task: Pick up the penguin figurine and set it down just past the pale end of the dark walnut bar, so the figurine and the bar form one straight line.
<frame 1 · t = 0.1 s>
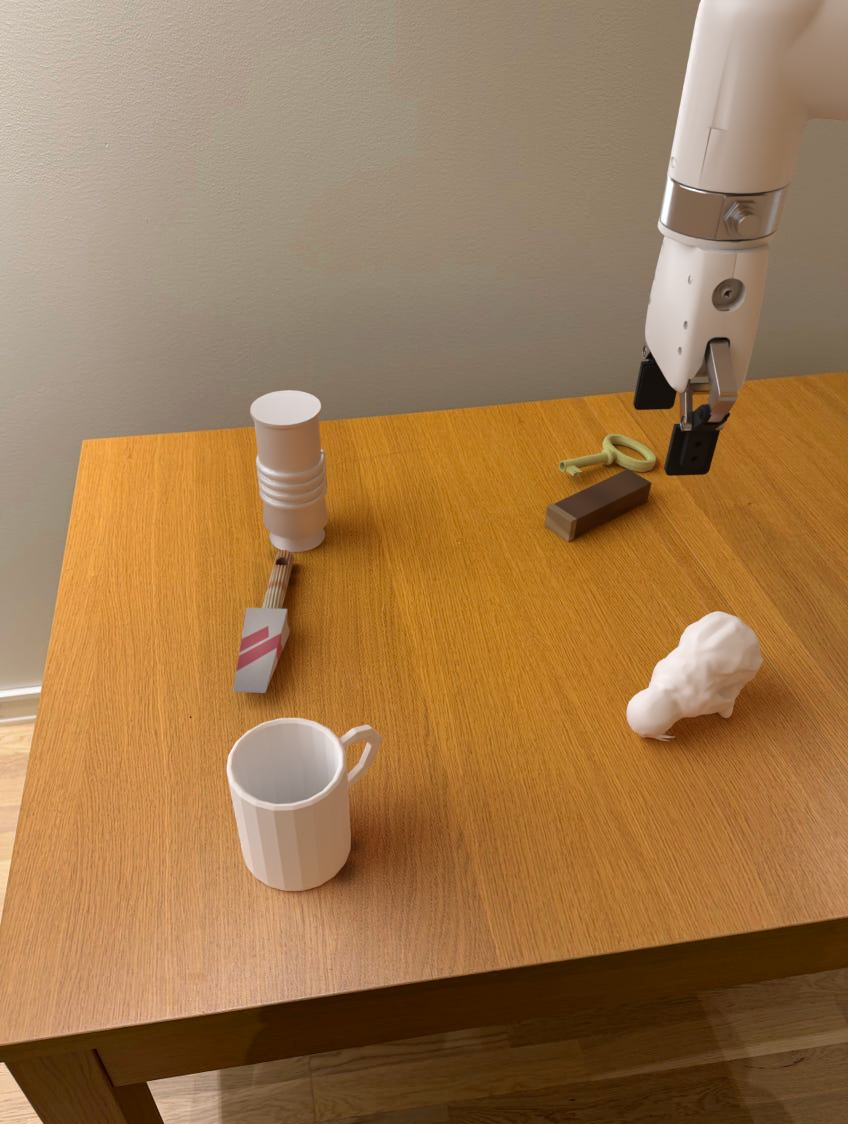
hand: (668, 438, 71), 20 cm above the table, tool pointing down, fingers open, 9 cm apart
white ribbed cylinder: (297, 536, 98), on the table
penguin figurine: (676, 715, 78), on the table
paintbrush: (270, 630, 87), on the table
walnut bar: (597, 513, 99), on the table
key: (606, 466, 107), on the table
mug: (318, 833, 70), on the table
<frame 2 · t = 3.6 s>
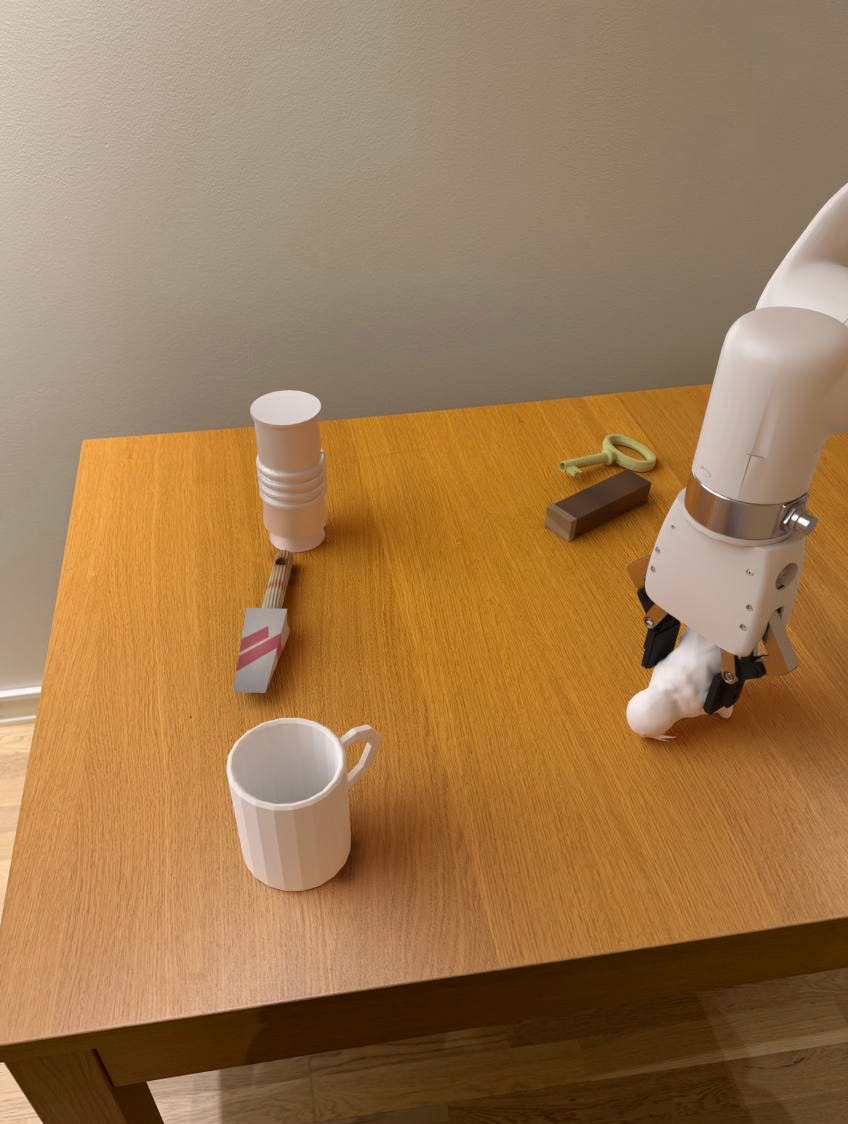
hand: (686, 681, 75), 4 cm above the table, tool pointing down, fingers closed on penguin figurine, 5 cm apart
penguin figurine: (676, 715, 78), on the table, touching gripper
everything else where it was.
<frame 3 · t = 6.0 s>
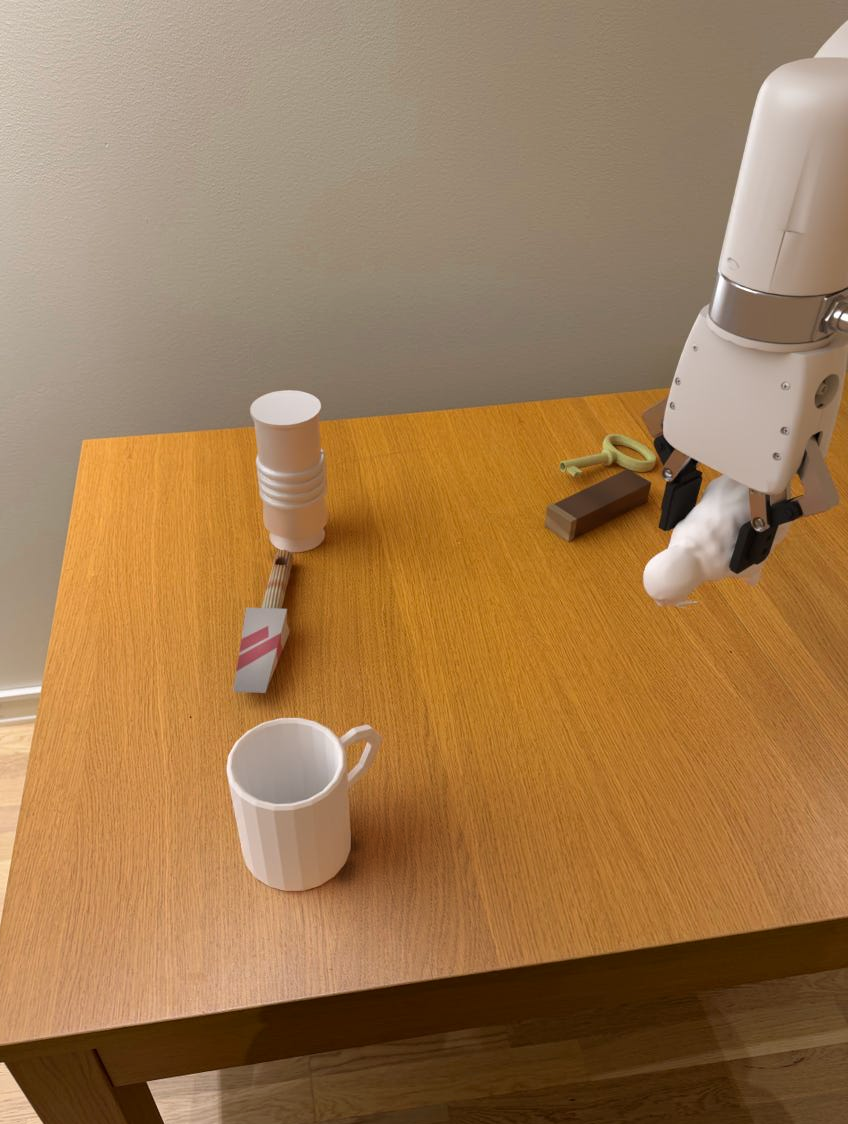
hand: (709, 541, 67), 17 cm above the table, tool pointing down, fingers closed on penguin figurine, 5 cm apart
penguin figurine: (697, 585, 70), point 13 cm above the table, touching gripper
everything else where it was.
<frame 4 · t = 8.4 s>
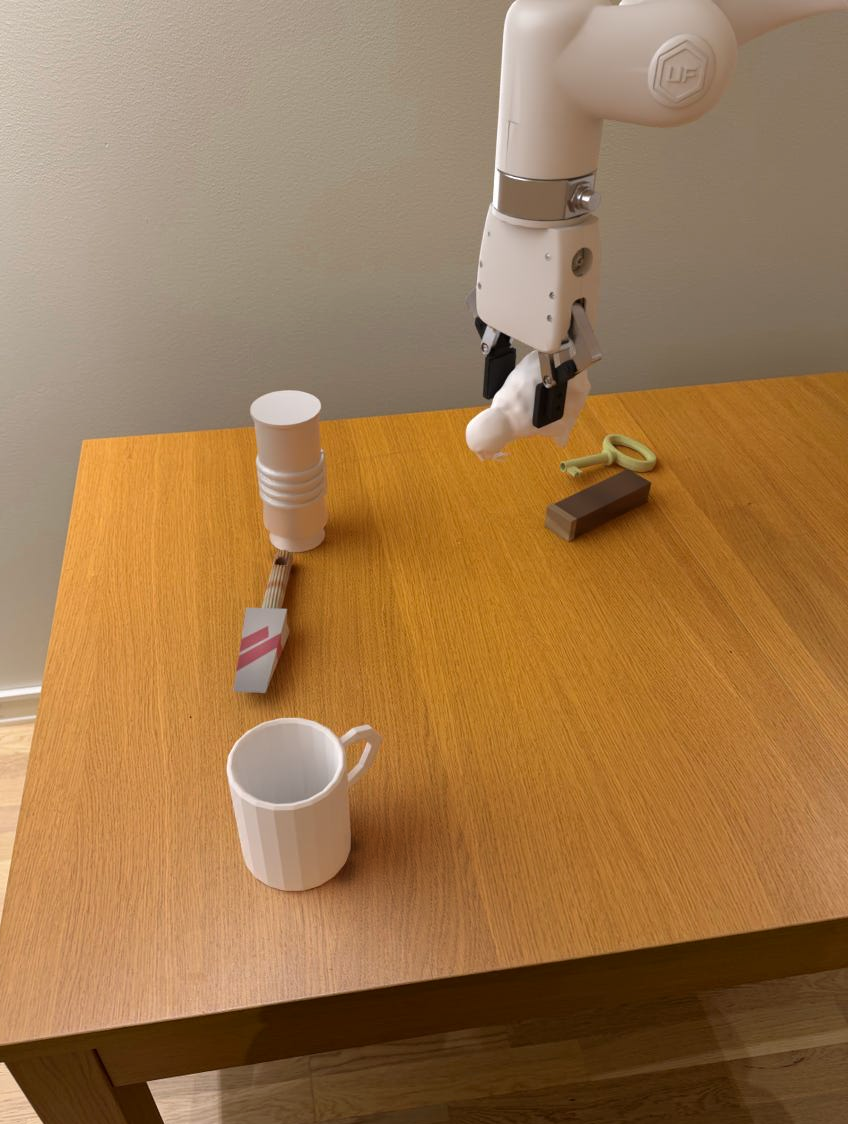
hand: (522, 406, 82), 17 cm above the table, tool pointing down, fingers closed on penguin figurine, 5 cm apart
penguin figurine: (518, 447, 84), point 13 cm above the table, touching gripper
everything else where it was.
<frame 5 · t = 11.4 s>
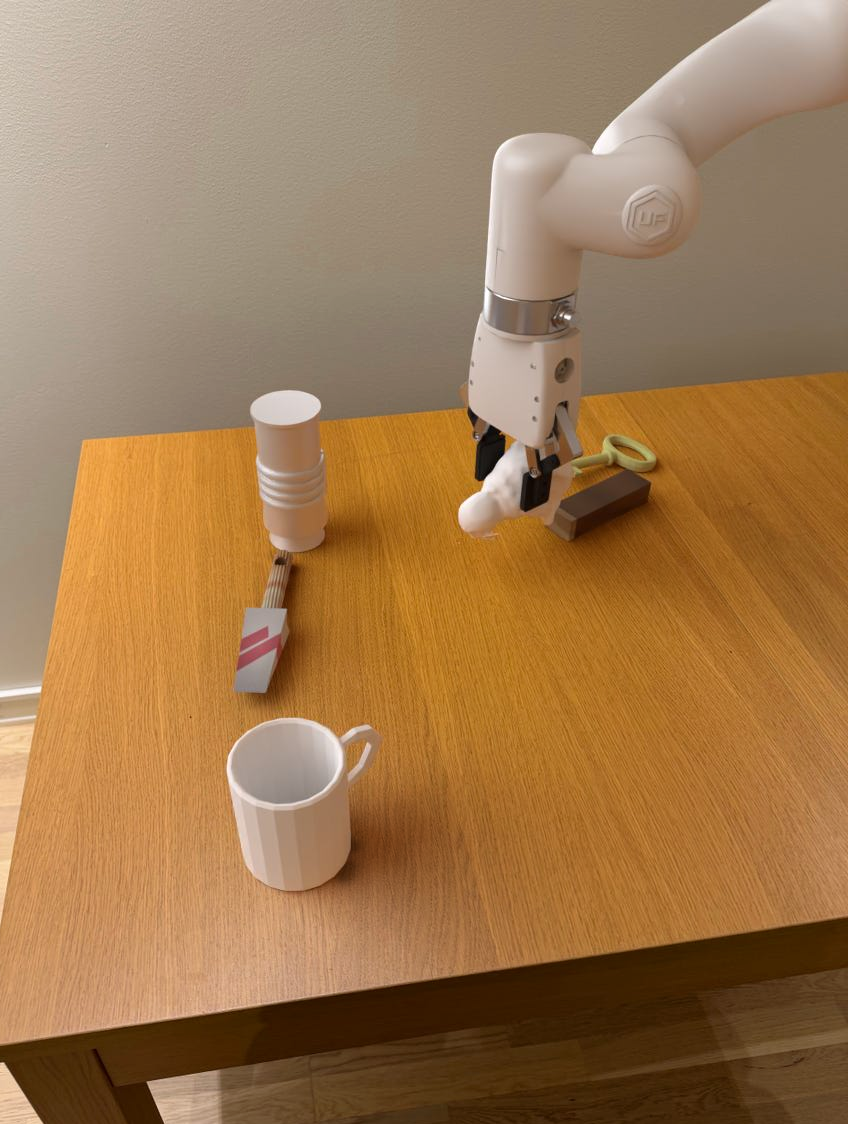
hand: (510, 489, 88), 9 cm above the table, tool pointing down, fingers closed on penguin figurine, 5 cm apart
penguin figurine: (507, 524, 91), point 4 cm above the table, touching gripper
everything else where it was.
when the fingers open (4 cm above the table, at t = 13.6 s): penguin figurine stays where it is, on the table.
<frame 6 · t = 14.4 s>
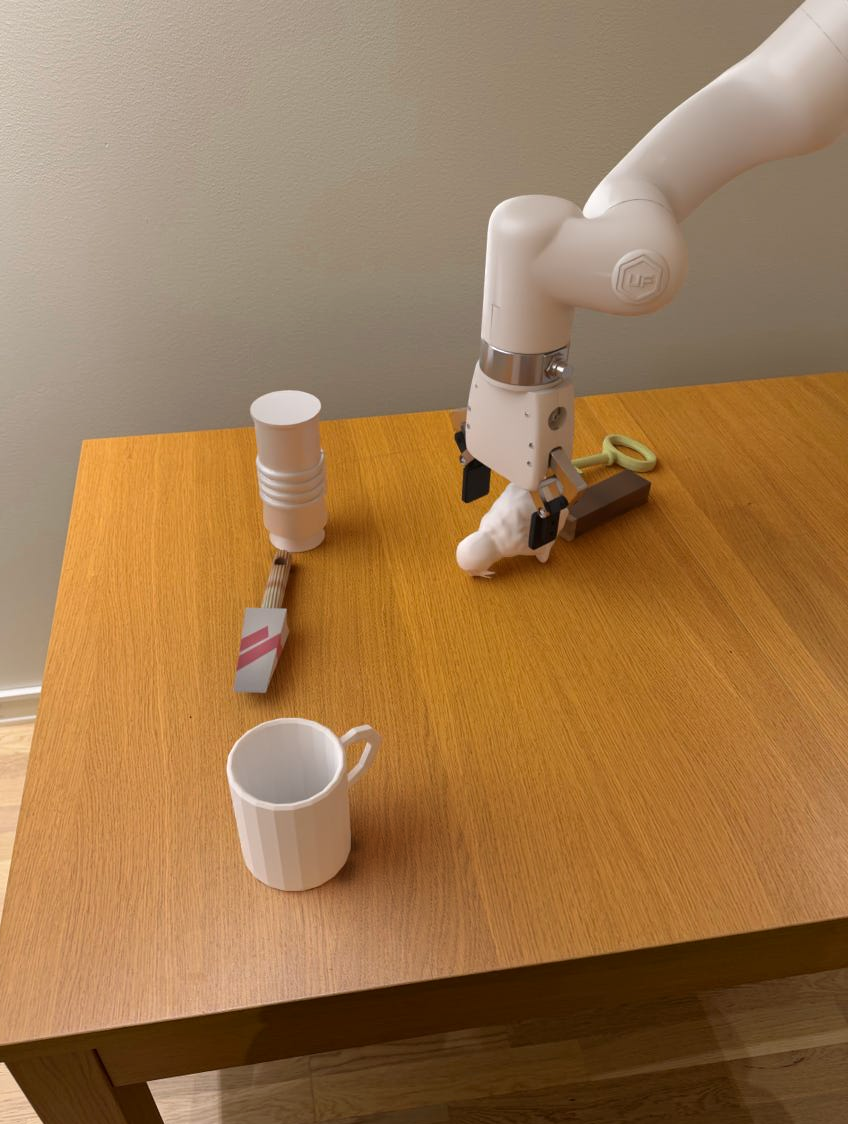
hand: (507, 520, 90), 5 cm above the table, tool pointing down, fingers open, 9 cm apart
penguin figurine: (503, 561, 94), on the table
everything else where it was.
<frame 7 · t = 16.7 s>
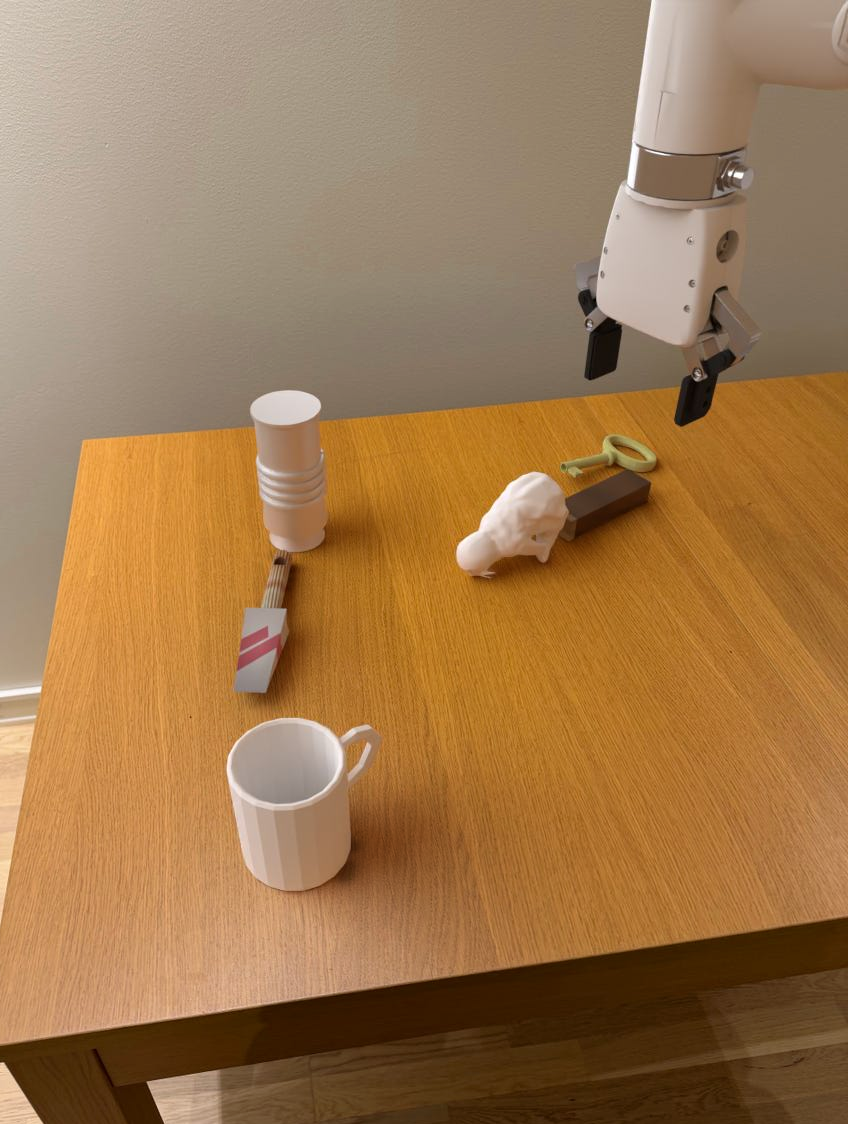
hand: (643, 396, 75), 21 cm above the table, tool pointing down, fingers open, 9 cm apart
nothing on the table moved.
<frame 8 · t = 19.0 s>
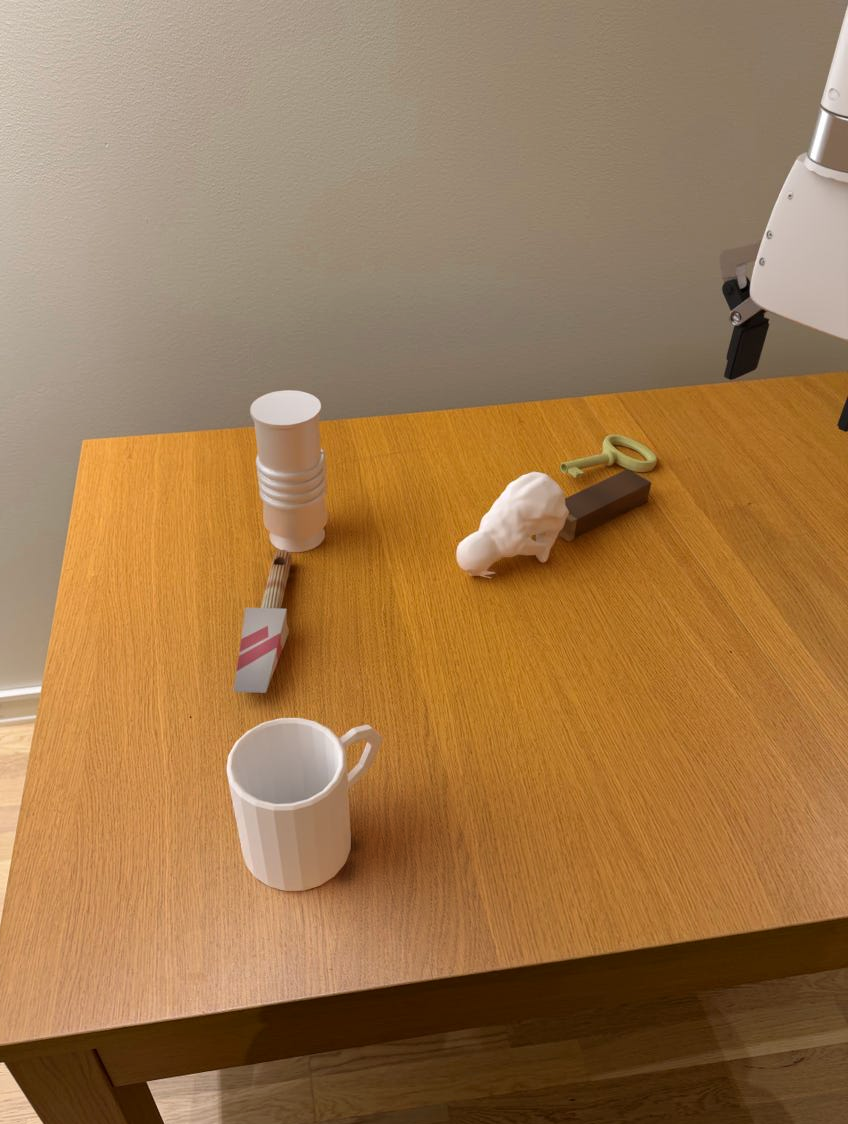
hand: (794, 398, 68), 24 cm above the table, tool pointing down, fingers open, 9 cm apart
nothing on the table moved.
at the end: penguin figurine 0.1 cm from the target spot on the table beside the walnut bar, on the table; the gripper is holding nothing; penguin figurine tilted 0° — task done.
